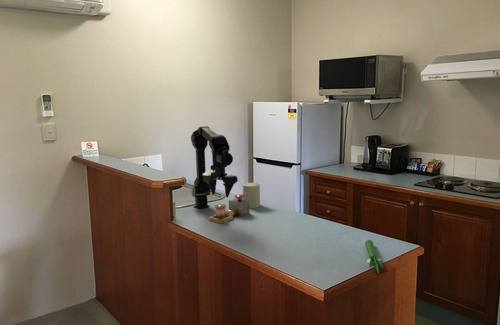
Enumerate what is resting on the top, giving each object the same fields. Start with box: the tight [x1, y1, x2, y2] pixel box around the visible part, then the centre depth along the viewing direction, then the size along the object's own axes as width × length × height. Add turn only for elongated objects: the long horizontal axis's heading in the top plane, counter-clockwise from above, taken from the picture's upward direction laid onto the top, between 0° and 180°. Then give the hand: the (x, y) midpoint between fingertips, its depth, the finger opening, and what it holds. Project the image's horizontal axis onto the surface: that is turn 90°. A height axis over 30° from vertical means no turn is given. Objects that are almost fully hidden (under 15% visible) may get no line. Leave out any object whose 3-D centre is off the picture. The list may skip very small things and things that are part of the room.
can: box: [242, 182, 261, 209], centre depth 216 cm, size 9×9×12 cm
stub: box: [214, 203, 227, 219], centre depth 192 cm, size 5×5×7 cm
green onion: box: [364, 239, 384, 275], centre depth 138 cm, size 5×3×30 cm
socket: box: [208, 214, 234, 224], centre depth 192 cm, size 8×8×2 cm
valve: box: [225, 193, 251, 218], centre depth 199 cm, size 8×12×9 cm
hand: (220, 195), depth 190 cm, fingers open, 9 cm apart
